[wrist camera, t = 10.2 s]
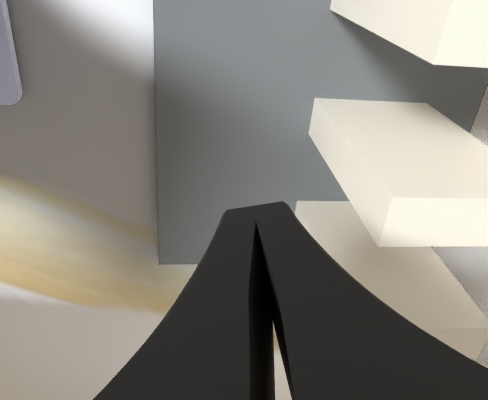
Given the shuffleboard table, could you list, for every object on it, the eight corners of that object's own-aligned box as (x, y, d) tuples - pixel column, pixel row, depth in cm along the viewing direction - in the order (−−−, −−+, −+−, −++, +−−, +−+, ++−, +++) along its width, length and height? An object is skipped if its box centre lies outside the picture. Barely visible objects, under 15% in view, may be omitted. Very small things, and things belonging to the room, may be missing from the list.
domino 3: (387, 228, 22) (477, 358, 15) (292, 228, 21) (342, 365, 15) (395, 201, 21) (494, 327, 15) (296, 200, 21) (352, 331, 14)
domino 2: (416, 137, 20) (538, 246, 13) (308, 133, 19) (377, 246, 12) (426, 103, 19) (563, 200, 12) (314, 98, 18) (392, 197, 11)
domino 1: (453, 19, 17) (630, 76, 10) (329, 9, 16) (432, 64, 10) (467, -28, 16) (670, 2, 9) (338, -39, 15) (457, -17, 9)
